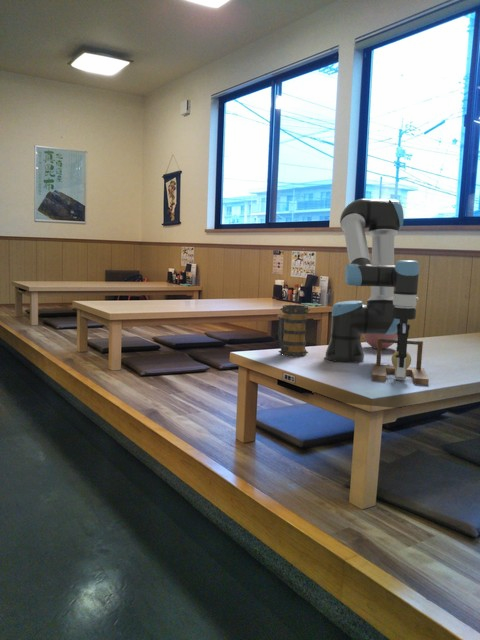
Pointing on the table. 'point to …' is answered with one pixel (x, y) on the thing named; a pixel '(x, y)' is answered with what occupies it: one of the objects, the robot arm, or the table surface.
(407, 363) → the light bulb
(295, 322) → the mug
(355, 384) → the table surface
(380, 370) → the wooden rack frame
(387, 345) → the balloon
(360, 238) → the robot arm
